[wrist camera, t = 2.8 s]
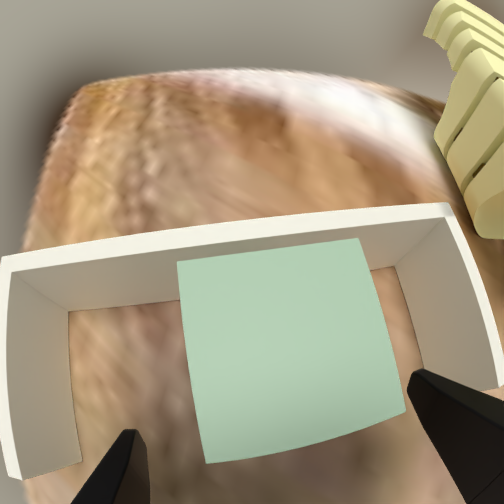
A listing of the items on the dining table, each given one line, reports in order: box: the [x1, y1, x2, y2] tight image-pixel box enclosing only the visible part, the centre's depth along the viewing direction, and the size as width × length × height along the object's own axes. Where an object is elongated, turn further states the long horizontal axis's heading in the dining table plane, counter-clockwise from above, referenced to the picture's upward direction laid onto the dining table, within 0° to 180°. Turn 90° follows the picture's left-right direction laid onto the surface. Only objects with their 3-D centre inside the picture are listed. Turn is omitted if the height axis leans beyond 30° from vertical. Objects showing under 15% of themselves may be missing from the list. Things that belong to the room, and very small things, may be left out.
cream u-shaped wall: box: [0, 202, 504, 480], centre depth 14 cm, size 12×26×7 cm, turn 100°
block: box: [177, 238, 406, 464], centre depth 12 cm, size 4×4×12 cm
